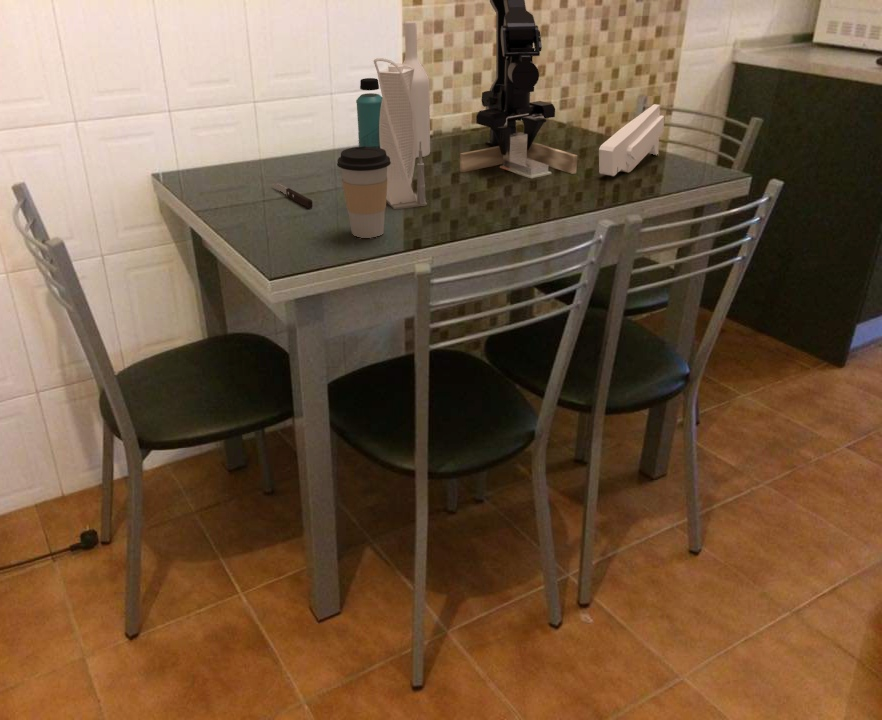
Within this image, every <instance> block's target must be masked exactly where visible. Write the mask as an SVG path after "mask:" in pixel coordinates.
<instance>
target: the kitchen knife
mask: <svg viewBox="0 0 882 720" xmlns="http://www.w3.org/2000/svg"><path fill="white" fill-rule="evenodd" d="M272 186H273V187H274V188H275V187H276V188H278V189H279V190H281V191H283V192H284V193H286V194H287V195H288V196H289V197H288V196H287V195H286V196H287V197H288V198H290V199H291V200H292V201H294V202H295V201H296V203H297V202H298V203H297V204H299V203H300V204H299V205H301V206H305V207H306V208H307V209H308V208H311V209H312V208H313V200H312V199H311V198H309V197H306V196H304V195H303V194H300V193H299V192H296V191H295V190H293V189H291V188H287V187H286V186H284V185H282V184H280V183H278V182H277V183H272ZM276 188H275V189H276Z"/></svg>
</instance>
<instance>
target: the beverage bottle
mask: <svg viewBox="0 0 882 720" xmlns="http://www.w3.org/2000/svg"><path fill="white" fill-rule="evenodd" d="M359 82H360V83H359V84H360V85H359V86H360V87H359V90H361V91H377V90H379V89H380V83H379V79H378V78H376V77H375V78H373V77H368V78H361V79H360V81H359ZM355 103H356V112H357V113H356V114H357V115H356V117H357V127H358V128H357V129H358V130H357V131H358V132H357V133H358V134H357V137H358V140H357V142H358V147H377V148H380V137H379V121H380V110H381V103H382V95H381V94H379V93H375V92H374V93H372V92H371V93H370V92H369V93H363V94H361V95H359V96H358V97H357V99H356V102H355Z"/></svg>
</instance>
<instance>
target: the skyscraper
mask: <svg viewBox="0 0 882 720" xmlns="http://www.w3.org/2000/svg"><path fill="white" fill-rule="evenodd" d="M377 62H385V63H389V65H388V67H387V68H386V69H383V70H379V66H378V63H377ZM373 64H374V66H375V67H374V68H375V69H376V75H377V77H378V78H377V79H378V84H379V89H380V93H381V97H382V103H381V110H380V121H379V137H380V148H381V149H384V150H385V151H386V155H387V156H388V157H389V158H390V162H391V164H390V165H389V166H387V196H386V204H388V206H390V207H391V208H392V210H401V209H411V208H416V207H417V208H418V207H423V206H424V207H425V206H428V202H426V201H427V199H426V183H425V181H426V180H425V163H424V162H423V161H424V160H423V157H422V150H421V141H419V143H420V150H419V157H418V162H417V164H416V148H417V130H416V120H415V114H414V109H413V105H412V101H411V98H410V92H411V86H412V80H413V74H414V68H413V67H412V66H410V65H406V64H403V63H396V62H394V61H392V60H390V59H388V58H384V57H383V58H382V57H381V58H379V57H378V58H374V59H373ZM403 67H408V68H411V69H403ZM415 166H417V167H416V168H417V176H416V177H417V179H416V180H417V182H416V183H417V184H416V189H417V191H416V192H417V193H414V191H413V187H412V184H413V183H412V182H413V178H414V171H415Z"/></svg>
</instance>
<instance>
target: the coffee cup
mask: <svg viewBox="0 0 882 720" xmlns="http://www.w3.org/2000/svg"><path fill="white" fill-rule="evenodd" d="M390 164H391V162H390V158H389V157H388V156H387V155H386V151H385V150H384V149H381V148H377V147H359V146H355V147H354V146H353V147H350V148H349V147H348V148H346V149H343V150H342V151H340V157H338V159H337V163H336V165H337V167H338V168H340V169H341V177H342V178H341V181H342V182H341V183H342V188H343V194H344V200H345V206H346V209H347V212H348V213H347V214H348V219H349V225H350V229H351V231H350V232H351V235H352V234H353V235H354V236H357V237H361V238H370V239H372V238H371V237H376V236H380V235H382V234H384V229H385V214H386V209H387V202H386V196H387V166H389V165H390ZM353 235H352V236H353ZM354 236H353V237H354ZM382 236H383V235H382ZM380 237H381V236H380ZM361 238H360V239H361ZM376 238H377V237H376Z"/></svg>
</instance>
